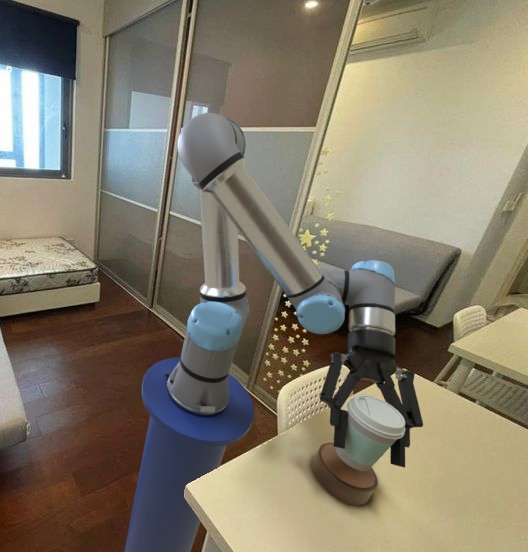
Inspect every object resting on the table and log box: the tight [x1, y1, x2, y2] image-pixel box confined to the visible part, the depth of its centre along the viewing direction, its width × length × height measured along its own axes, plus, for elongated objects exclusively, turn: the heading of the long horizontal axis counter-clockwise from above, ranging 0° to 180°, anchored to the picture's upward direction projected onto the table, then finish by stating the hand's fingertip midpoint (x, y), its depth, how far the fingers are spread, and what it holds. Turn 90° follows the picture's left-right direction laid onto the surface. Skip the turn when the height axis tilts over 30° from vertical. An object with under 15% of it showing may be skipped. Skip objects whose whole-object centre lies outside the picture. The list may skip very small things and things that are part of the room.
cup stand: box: [311, 442, 379, 506], centre depth 63 cm, size 10×10×4 cm
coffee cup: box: [336, 394, 405, 471], centre depth 58 cm, size 8×8×12 cm
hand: (367, 456), depth 56 cm, fingers closed on coffee cup, 8 cm apart
